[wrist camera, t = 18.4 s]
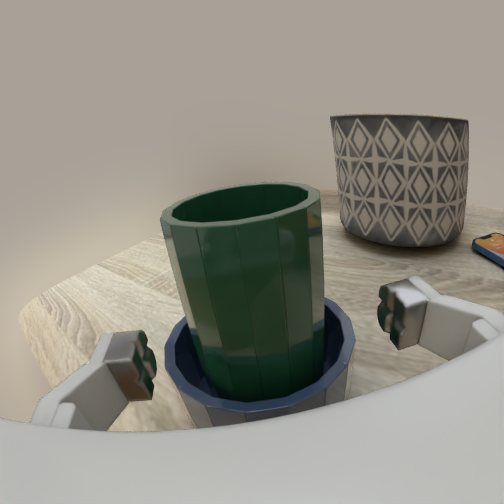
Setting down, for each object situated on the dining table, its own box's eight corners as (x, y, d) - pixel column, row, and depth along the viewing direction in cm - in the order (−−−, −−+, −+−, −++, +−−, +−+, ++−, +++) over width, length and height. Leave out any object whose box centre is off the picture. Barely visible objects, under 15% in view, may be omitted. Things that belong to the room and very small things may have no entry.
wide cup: (244, 496, 11) (222, 453, 9) (167, 386, 19) (142, 327, 17) (379, 396, 16) (393, 331, 14) (280, 329, 24) (274, 270, 22)
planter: (488, 245, 31) (495, 123, 25) (376, 273, 30) (374, 112, 23) (415, 206, 49) (413, 117, 42) (320, 220, 48) (311, 117, 41)
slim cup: (253, 453, 13) (199, 243, 8) (197, 383, 19) (144, 209, 14) (345, 390, 16) (353, 192, 12) (278, 341, 22) (258, 177, 17)
